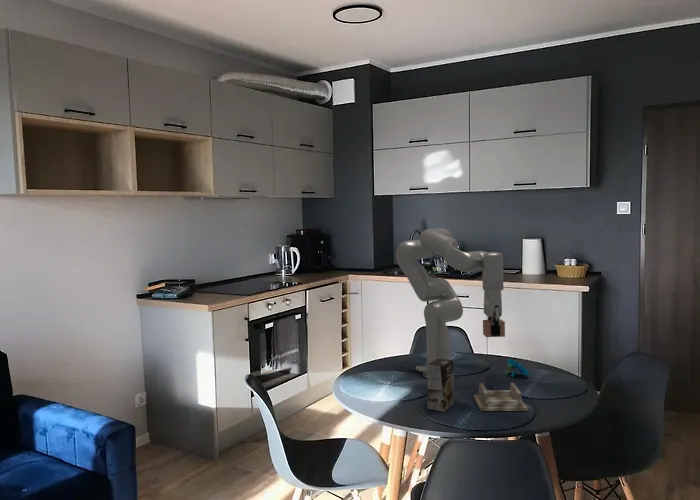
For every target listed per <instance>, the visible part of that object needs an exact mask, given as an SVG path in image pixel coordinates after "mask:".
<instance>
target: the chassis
mask: <svg viewBox="0 0 700 500" xmlns="http://www.w3.org/2000/svg"><path fill="white" fill-rule="evenodd" d="M509 386H510V387H509V389H510V390H509V389H507V390H505V389H504V390H501V389H499V390H494V389H493V390H490V389H489V390H487V388H486V387H485V385H484V382H479V383H478V391H479V392H478V394H473V399H474V401H475V404H476V406H477V407H478V409H479V412H481V411H528V412H529V409H528V406H527V405H526V404H525V402H524V401H523V398H522V392H521V390H520V389H519V388H518V387H517V386H516V384H515V383H514V382H510V383H509Z"/></svg>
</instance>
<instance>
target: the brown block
mask: <svg viewBox="0 0 700 500" xmlns="http://www.w3.org/2000/svg"><path fill="white" fill-rule="evenodd" d="M491 325H492V320H488V319H483V320H482V335H483V336H484V337H485V338H502V337H504V338H505V337H506V321H504V320H503V319H501V318H500V336H492V335H491Z"/></svg>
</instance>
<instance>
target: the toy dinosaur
mask: <svg viewBox="0 0 700 500" xmlns="http://www.w3.org/2000/svg"><path fill="white" fill-rule="evenodd" d="M506 361H507V364H508V365H507V369H508V370H506V372H505V374H506V375H508V374H509V372H510V371H512V373H511V374H510V377H511V376H512V377H511V378H514V376H516V374H517V373H519V374H520V373H521V375H524V376H525V375H526V376H529V375H530V370H528V369H527V368H526V367H525V366H522V365H523V364H521V363H520V362H519V363H518V362H517V360H513V359H512V358H510V359H509V358H508V359H507V360H506Z"/></svg>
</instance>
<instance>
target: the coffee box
mask: <svg viewBox="0 0 700 500" xmlns="http://www.w3.org/2000/svg"><path fill="white" fill-rule="evenodd" d="M453 373H454V360H452V359H450V360H447V359H436V360H434V361H432V362H431V363H429V364H428V378H427V409H428V410H432V411H433V410H434V411H438V412H442V413H443V412H446V411H447V410H448V409H449V408H450V407H452V406H453V405H454V377H453ZM451 405H452V406H451Z"/></svg>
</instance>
